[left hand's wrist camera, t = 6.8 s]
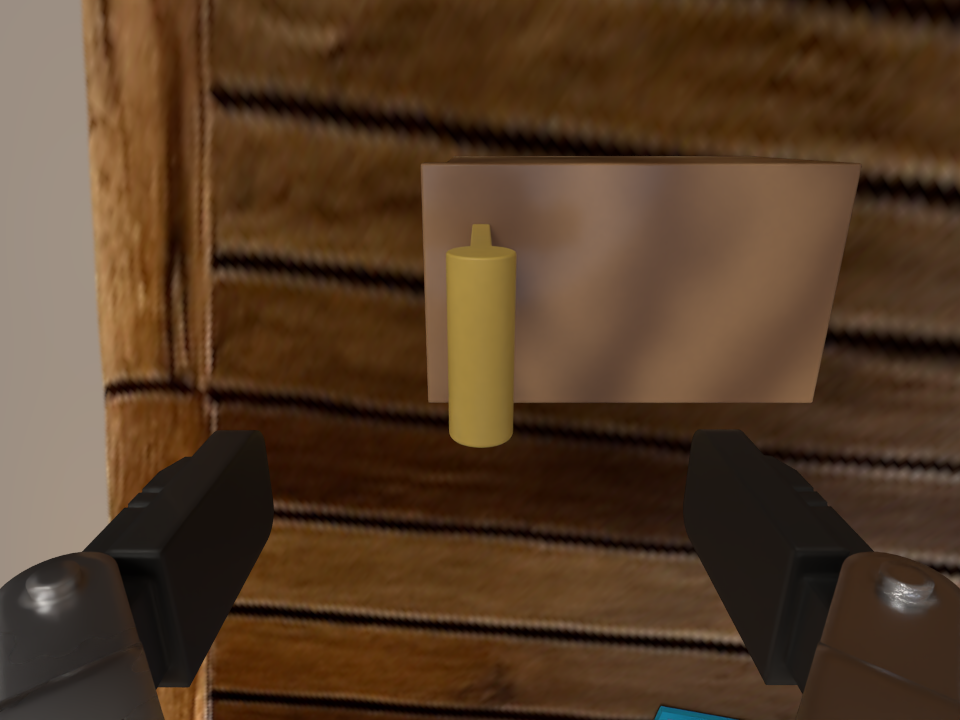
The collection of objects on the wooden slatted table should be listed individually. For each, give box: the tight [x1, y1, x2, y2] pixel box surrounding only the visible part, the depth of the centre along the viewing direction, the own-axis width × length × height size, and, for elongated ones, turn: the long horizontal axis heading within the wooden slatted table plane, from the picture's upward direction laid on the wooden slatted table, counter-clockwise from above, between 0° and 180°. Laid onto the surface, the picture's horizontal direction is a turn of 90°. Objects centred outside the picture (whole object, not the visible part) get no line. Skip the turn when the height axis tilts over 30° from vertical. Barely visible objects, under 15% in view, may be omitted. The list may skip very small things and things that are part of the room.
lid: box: [421, 163, 862, 448], centre depth 21 cm, size 17×10×9 cm, turn 90°
